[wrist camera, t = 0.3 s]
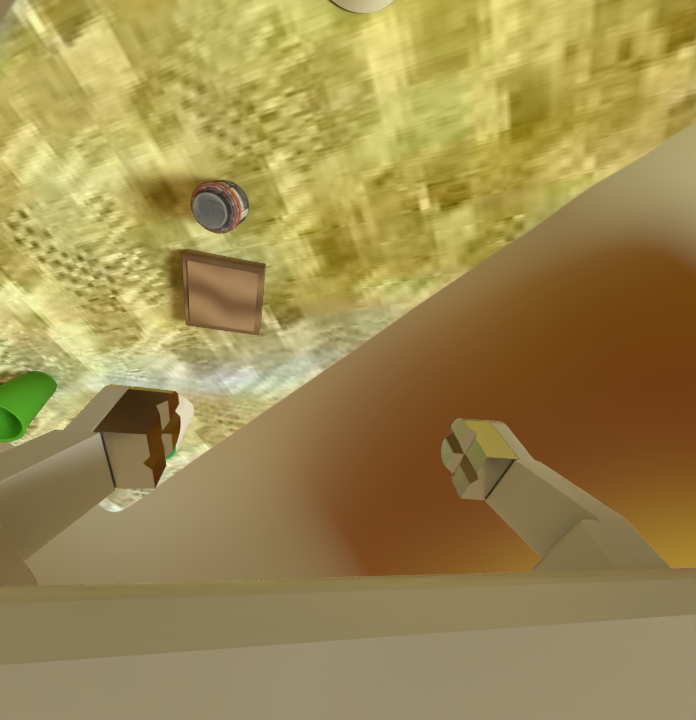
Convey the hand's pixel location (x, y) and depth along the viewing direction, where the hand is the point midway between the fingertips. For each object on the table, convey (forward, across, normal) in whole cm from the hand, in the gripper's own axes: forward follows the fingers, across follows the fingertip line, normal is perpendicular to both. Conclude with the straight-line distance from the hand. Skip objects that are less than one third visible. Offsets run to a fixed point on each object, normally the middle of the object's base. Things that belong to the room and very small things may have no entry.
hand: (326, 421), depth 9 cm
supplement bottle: (+46, +12, 0) cm, 48 cm away
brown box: (+46, +12, +14) cm, 50 cm away
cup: (+46, +45, +38) cm, 75 cm away
